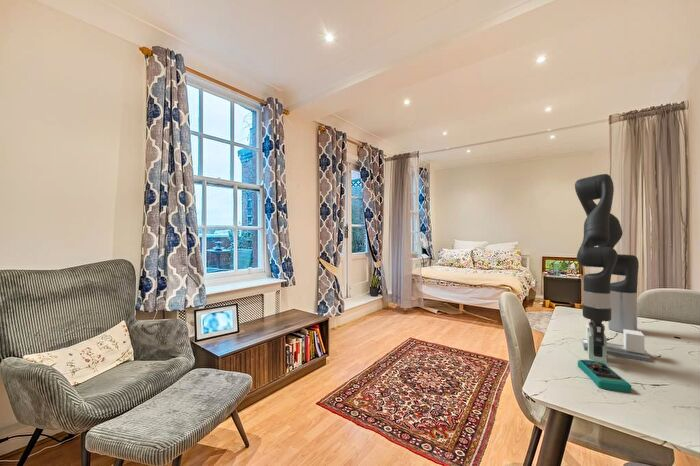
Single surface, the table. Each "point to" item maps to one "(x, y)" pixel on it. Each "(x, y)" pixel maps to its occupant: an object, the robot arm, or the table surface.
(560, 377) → the table surface
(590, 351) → the block
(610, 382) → the digital multimeter
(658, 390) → the table surface
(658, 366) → the table surface
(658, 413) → the table surface
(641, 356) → the rail panel
